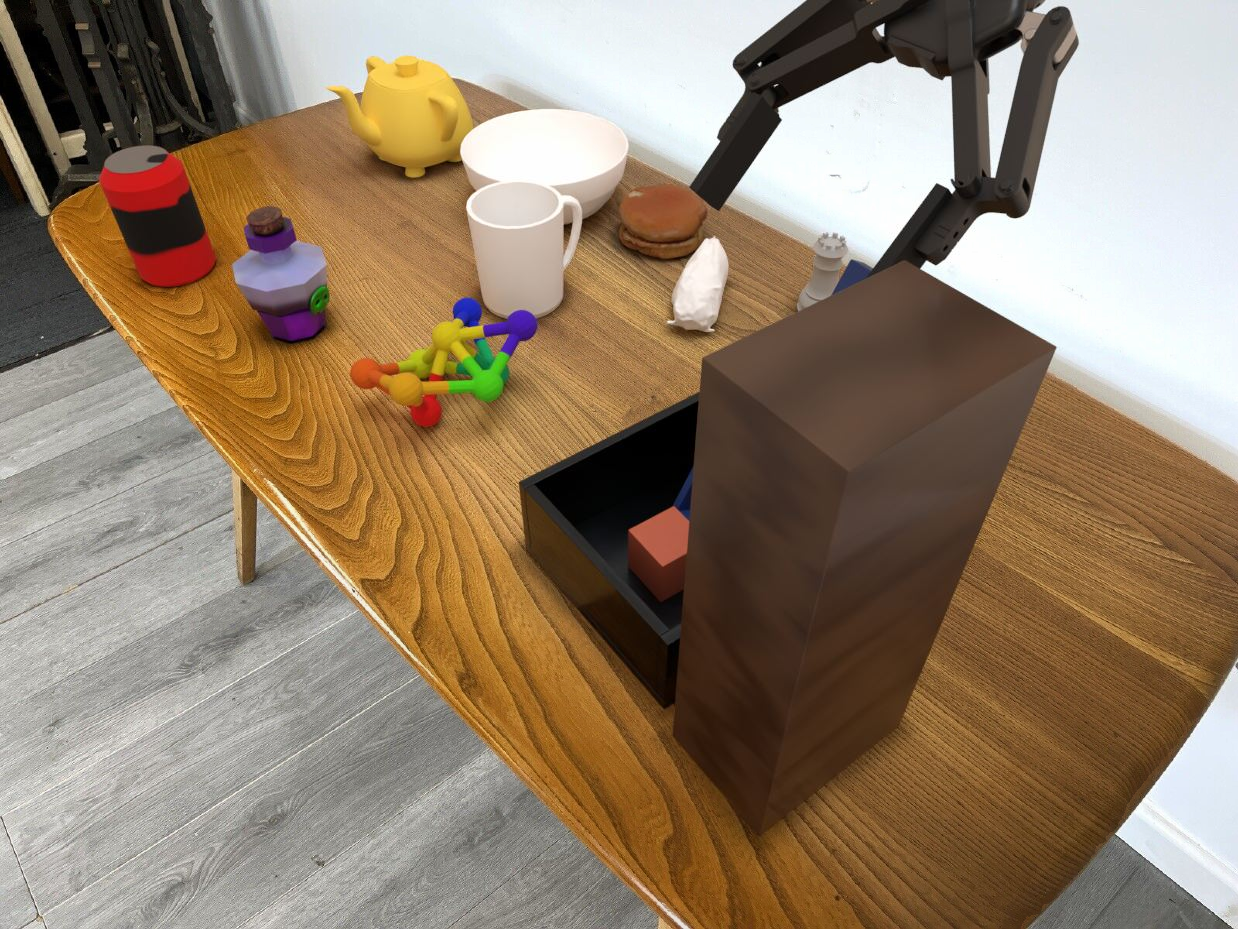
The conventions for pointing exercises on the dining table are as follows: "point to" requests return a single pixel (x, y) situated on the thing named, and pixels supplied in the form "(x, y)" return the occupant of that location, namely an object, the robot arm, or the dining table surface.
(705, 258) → the white cloth bag
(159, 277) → the soda can
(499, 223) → the mug
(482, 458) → the dining table surface
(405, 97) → the teapot
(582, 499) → the black square open box
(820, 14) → the robot arm
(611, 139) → the bowl
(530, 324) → the decorative model
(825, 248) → the rook chess piece
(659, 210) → the burger
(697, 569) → the stand
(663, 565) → the block
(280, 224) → the potion bottle
